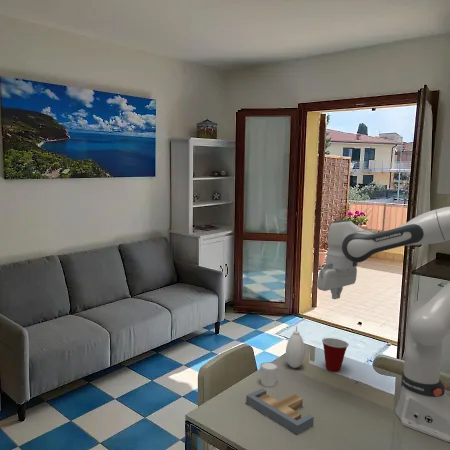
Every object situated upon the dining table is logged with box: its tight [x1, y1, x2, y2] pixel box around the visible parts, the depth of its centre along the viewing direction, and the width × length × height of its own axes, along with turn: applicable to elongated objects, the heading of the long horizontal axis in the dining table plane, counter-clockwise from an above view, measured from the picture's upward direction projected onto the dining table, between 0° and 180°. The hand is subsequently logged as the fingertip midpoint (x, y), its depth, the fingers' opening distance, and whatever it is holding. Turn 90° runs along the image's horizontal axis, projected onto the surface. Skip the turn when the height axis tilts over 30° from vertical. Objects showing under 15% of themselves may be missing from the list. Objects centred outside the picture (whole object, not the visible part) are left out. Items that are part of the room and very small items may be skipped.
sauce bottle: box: [285, 325, 306, 369], centre depth 179 cm, size 8×8×18 cm
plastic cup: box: [321, 337, 349, 373], centre depth 179 cm, size 11×11×12 cm
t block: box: [258, 393, 304, 420], centre depth 147 cm, size 16×12×3 cm
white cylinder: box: [259, 361, 279, 387], centre depth 165 cm, size 7×7×7 cm
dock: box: [245, 388, 315, 435], centre depth 145 cm, size 23×8×3 cm, turn 41°
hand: (335, 298), depth 163 cm, fingers closed
